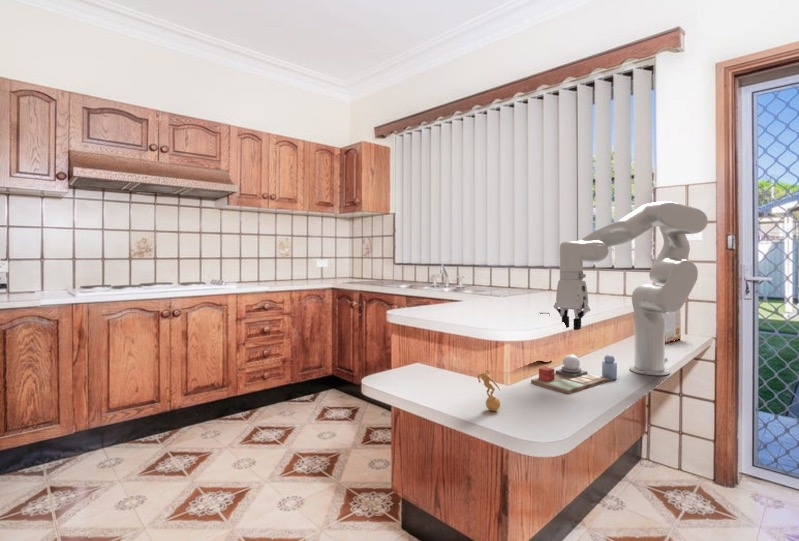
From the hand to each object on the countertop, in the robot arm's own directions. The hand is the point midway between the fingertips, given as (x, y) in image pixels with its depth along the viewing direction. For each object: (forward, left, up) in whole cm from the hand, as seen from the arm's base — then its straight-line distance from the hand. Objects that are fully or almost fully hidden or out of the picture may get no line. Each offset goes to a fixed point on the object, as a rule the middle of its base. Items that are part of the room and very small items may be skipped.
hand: (571, 328), depth 152 cm
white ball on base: (0, 0, -15) cm, 15 cm away
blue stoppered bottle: (-9, +9, -17) cm, 21 cm away
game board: (+6, +3, -17) cm, 19 cm away
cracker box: (-87, -8, -17) cm, 89 cm away
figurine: (+47, +7, -17) cm, 51 cm away
